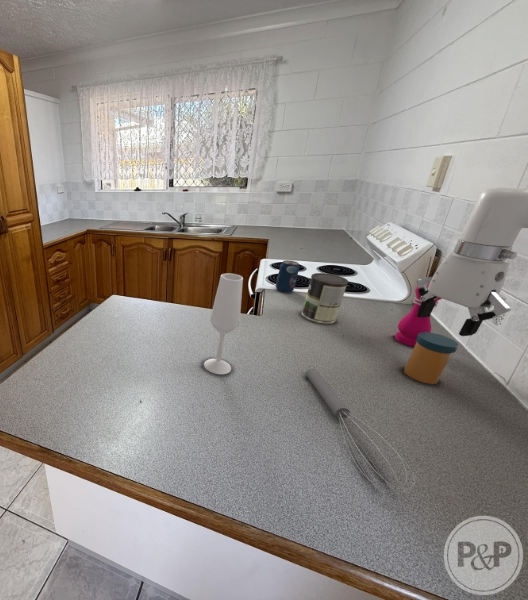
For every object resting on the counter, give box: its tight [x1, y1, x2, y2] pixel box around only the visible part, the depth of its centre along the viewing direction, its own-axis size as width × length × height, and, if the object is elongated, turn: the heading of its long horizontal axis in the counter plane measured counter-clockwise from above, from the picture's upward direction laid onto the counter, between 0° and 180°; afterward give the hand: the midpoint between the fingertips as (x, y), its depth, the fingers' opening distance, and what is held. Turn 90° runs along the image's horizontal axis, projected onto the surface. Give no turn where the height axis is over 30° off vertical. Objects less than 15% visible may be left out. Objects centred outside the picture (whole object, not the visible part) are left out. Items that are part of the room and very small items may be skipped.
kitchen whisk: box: [305, 365, 416, 497], centre depth 61 cm, size 6×34×6 cm, turn 172°
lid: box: [416, 332, 459, 354], centre depth 73 cm, size 7×7×2 cm
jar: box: [403, 342, 453, 385], centre depth 75 cm, size 6×6×10 cm
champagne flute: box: [203, 273, 244, 375], centre depth 74 cm, size 7×7×24 cm
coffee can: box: [301, 272, 349, 325], centre depth 103 cm, size 10×10×14 cm
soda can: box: [275, 259, 300, 294], centre depth 126 cm, size 7×7×12 cm
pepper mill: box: [394, 283, 443, 347], centre depth 88 cm, size 7×7×20 cm
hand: (443, 325), depth 71 cm, fingers open, 8 cm apart
